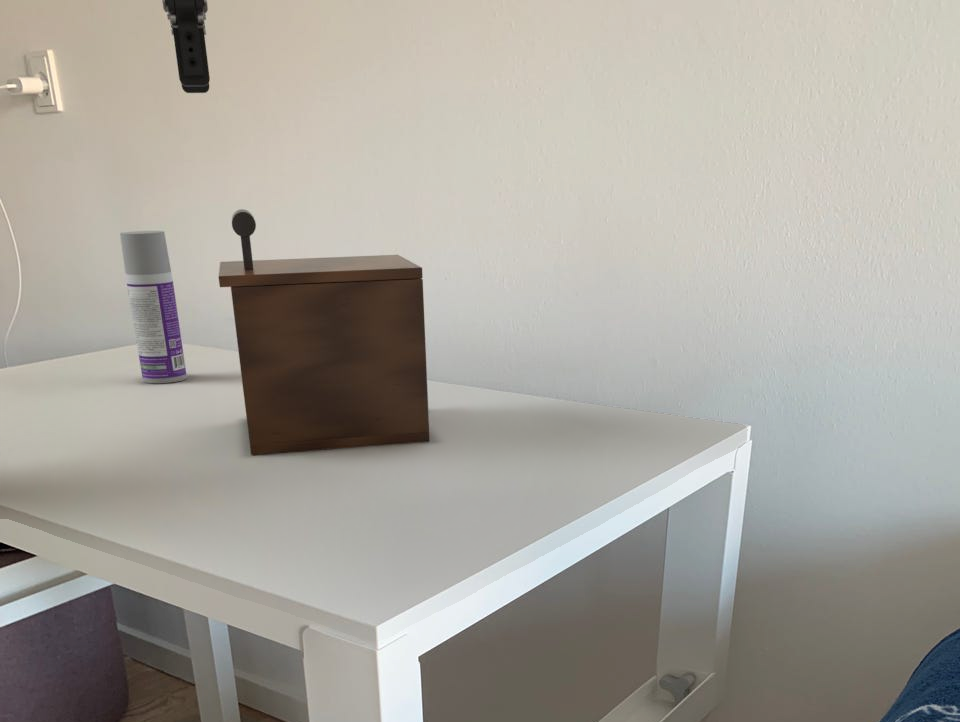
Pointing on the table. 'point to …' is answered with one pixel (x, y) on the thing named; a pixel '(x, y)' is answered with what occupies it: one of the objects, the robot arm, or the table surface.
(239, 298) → the chest
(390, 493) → the table surface
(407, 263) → the lid
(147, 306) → the container
